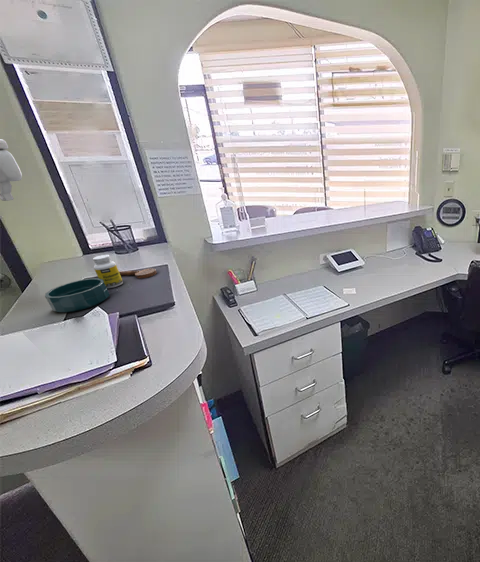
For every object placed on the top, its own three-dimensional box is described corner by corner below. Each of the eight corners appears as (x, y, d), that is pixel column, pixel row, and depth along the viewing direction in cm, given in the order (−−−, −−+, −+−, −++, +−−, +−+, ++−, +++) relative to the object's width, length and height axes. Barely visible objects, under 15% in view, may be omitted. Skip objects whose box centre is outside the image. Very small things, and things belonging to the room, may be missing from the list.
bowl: (41, 314, 84) (31, 298, 81) (82, 293, 95) (75, 278, 93) (83, 313, 83) (75, 297, 81) (120, 292, 94) (114, 277, 92)
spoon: (90, 279, 105) (88, 275, 104) (105, 272, 111) (103, 268, 110) (148, 278, 104) (147, 273, 103) (160, 271, 109) (159, 267, 108)
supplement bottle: (106, 290, 96) (93, 261, 92) (100, 286, 99) (86, 258, 95) (126, 283, 100) (114, 255, 96) (119, 280, 103) (107, 252, 99)
